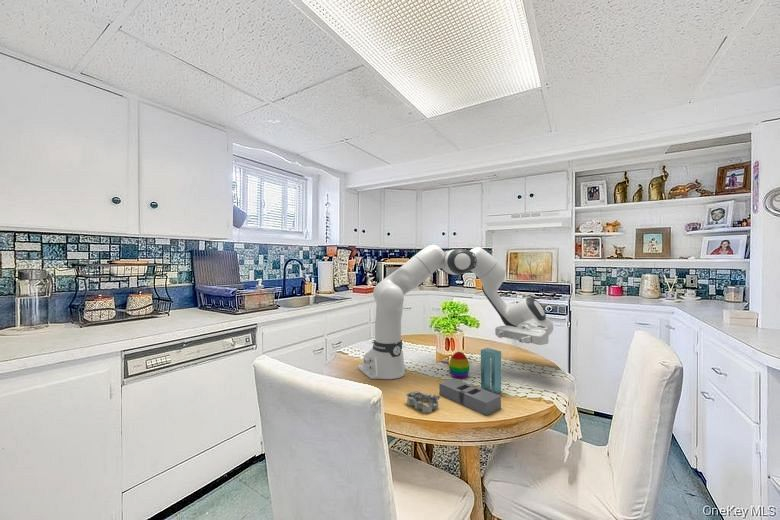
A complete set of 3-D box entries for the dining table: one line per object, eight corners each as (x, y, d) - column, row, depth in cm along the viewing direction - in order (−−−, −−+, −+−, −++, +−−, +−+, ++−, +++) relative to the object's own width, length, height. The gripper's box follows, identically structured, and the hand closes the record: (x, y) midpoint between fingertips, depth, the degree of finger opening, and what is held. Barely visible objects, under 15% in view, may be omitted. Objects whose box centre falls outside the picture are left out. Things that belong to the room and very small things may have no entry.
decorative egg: (469, 380, 131) (469, 355, 131) (448, 378, 133) (448, 354, 133) (469, 373, 139) (469, 349, 139) (449, 371, 141) (449, 348, 141)
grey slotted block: (439, 394, 119) (439, 383, 119) (454, 388, 124) (454, 378, 124) (486, 415, 103) (486, 403, 103) (501, 407, 108) (500, 395, 108)
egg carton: (441, 408, 109) (441, 396, 109) (425, 416, 104) (425, 403, 104) (419, 397, 117) (419, 386, 117) (403, 403, 112) (403, 392, 112)
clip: (480, 389, 123) (480, 349, 122) (487, 386, 125) (487, 347, 125) (494, 394, 118) (494, 353, 118) (501, 391, 120) (501, 351, 120)
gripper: (505, 320, 145) (486, 325, 137) (552, 328, 129) (534, 334, 121) (505, 334, 145) (487, 340, 137) (552, 344, 129) (534, 351, 121)
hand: (509, 337), depth 129 cm, fingers open, 8 cm apart
